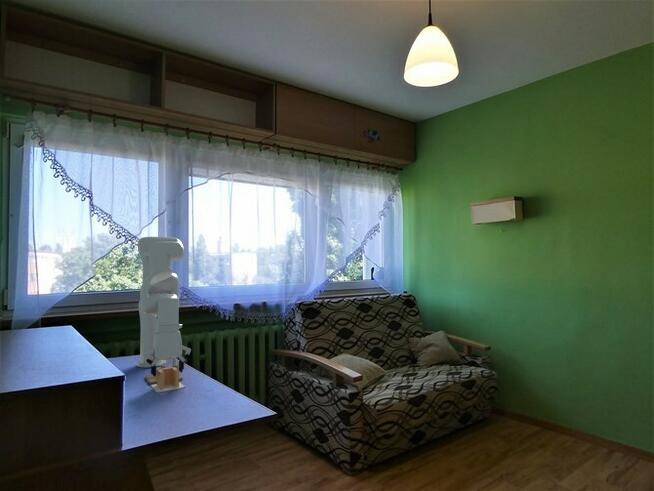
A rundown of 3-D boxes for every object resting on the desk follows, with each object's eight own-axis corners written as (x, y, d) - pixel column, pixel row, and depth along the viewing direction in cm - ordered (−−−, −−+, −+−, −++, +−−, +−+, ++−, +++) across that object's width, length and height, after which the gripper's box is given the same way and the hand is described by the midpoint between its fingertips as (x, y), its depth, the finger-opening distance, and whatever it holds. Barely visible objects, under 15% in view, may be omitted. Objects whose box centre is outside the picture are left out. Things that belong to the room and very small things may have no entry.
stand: (144, 378, 170) (144, 364, 170) (175, 373, 177) (175, 360, 177) (150, 385, 160) (150, 371, 160) (182, 380, 167) (182, 366, 167)
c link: (156, 385, 159) (156, 369, 159) (174, 382, 163) (174, 366, 163) (160, 389, 153) (160, 373, 153) (179, 386, 157) (179, 370, 157)
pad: (151, 386, 159) (151, 385, 159) (178, 381, 165) (178, 380, 165) (156, 392, 151) (156, 391, 151) (184, 387, 157) (184, 386, 157)
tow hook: (151, 375, 177) (173, 374, 176) (150, 344, 177) (171, 343, 177) (160, 370, 185) (181, 369, 185) (159, 341, 186) (179, 339, 185)
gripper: (188, 325, 167) (188, 368, 166) (141, 329, 157) (141, 375, 157) (193, 327, 161) (193, 372, 160) (145, 332, 151) (145, 379, 151)
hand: (167, 373), depth 159 cm, fingers open, 9 cm apart
